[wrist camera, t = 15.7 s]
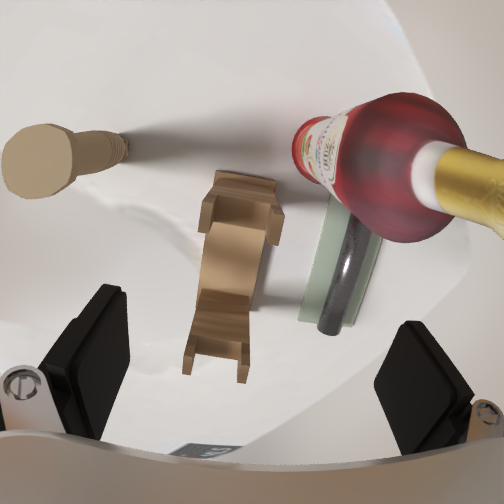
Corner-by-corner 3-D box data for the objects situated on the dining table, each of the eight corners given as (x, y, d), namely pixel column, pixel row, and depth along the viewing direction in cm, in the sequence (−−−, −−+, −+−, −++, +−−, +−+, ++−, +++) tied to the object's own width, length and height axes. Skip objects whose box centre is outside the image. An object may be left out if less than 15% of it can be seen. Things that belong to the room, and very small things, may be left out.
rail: (350, 198, 32) (359, 203, 30) (373, 204, 33) (383, 209, 30) (315, 321, 37) (319, 334, 35) (336, 323, 38) (342, 336, 35)
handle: (145, 169, 31) (74, 195, 17) (92, 172, 31) (5, 201, 17) (144, 123, 30) (71, 117, 16) (90, 129, 30) (0, 134, 15)
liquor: (348, 192, 32) (565, 349, 6) (281, 176, 32) (420, 351, 6) (363, 125, 30) (623, 143, 4) (295, 107, 29) (498, 6, 3)
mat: (331, 191, 32) (332, 191, 32) (389, 205, 33) (390, 206, 33) (297, 319, 38) (298, 321, 37) (350, 325, 38) (351, 327, 38)
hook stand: (216, 170, 32) (197, 190, 19) (275, 180, 32) (293, 207, 20) (197, 302, 37) (176, 378, 24) (248, 311, 37) (249, 389, 25)
